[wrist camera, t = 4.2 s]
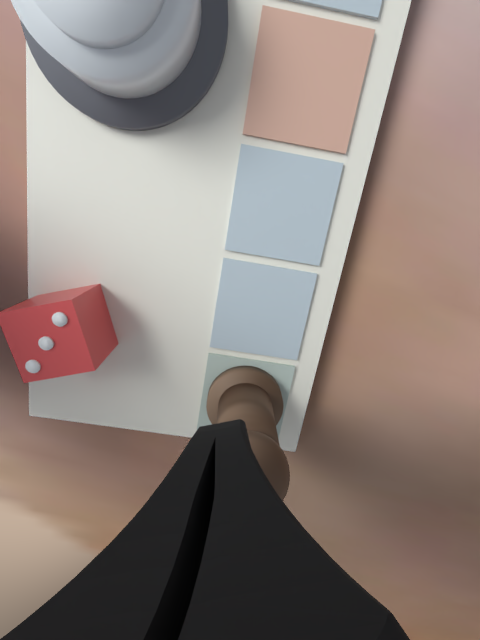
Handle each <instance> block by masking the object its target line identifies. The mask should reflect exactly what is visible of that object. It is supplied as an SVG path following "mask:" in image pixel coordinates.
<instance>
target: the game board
mask: <svg viewBox="0 0 480 640" xmlns="http://www.w3.org/2000/svg"><path fill="white" fill-rule="evenodd" d="M410 4H411V0H201V10H202V13H201V26H200V32H199V37H198V41H197V44H196V47H195V50H194V52H193V54H192V57H191V59H190V61H189V62H188V64H187V66H186V67H185V69H184V70H183V71H182V73H181V74H180V75H179V76H178V77H177V78H176V79H175V80H174V81H173V82H172V83H171V84H169V85H168V86H167V87H165V88H164V89H162V90H160V91H158V92H157V93H155V94H152V95H149V96H146V97H140V98H128V99H126V98H117V97H113V96H109V95H106V94H104V93H101V92H99V91H97V90H95V89H93V88H91V87H90V86H88V85H87V84H85V83H84V82H83V81H81V80H80V79H79V78H78V77H76V76H75V75H74V74H73V73H72V72H70V71H69V70H68V69H67V68H66V67H64V66H63V65H62V64H61V63H60V62H58V61H57V60H56V59H55V58H54V57H52V56H51V55H50V54H49V53H48V52H47V51H46V50H45V49H43V48H42V47H41V46H40V45H39V44H38V43H37V41H36V40H35V39H34V38H33V37H32V35H31V34H30V33H29V32H28V30H27V29H26V27H25V26H24V24H23V23H22V21H21V20H20V21H21V25H22V28H23V32H24V35H25V39H26V100H27V222H28V299H30V298H32V297H34V296H37V295H41V294H46V293H52V292H57V291H63V290H68V289H73V288H79V287H84V286H90V285H95V284H101V288H102V291H103V294H104V297H105V301H106V304H107V307H108V310H109V314H110V317H111V320H112V324H113V327H114V330H115V333H116V337H117V340H118V343H119V344H118V345H117V346H116V347H115V348H114V350H113V351H112V352H111V353H110V354H109V355H108V357H107V358H106V359H105V360H104V361H103V362H102V363H101V365H100V366H99V367H98V368H97V369H96V370H95V371H91V372H85V373H79V374H73V375H68V376H62V377H56V378H51V379H45V380H39V381H33V382H29V416H36V417H43V418H51V419H58V420H65V421H73V422H80V423H87V424H95V425H102V426H110V427H117V428H124V429H132V430H139V431H146V432H154V433H161V434H168V435H176V436H183V437H190V438H192V437H193V435H194V434H195V432H196V431H197V429H198V428H199V427H201V426H206V425H211V424H212V423H211V422H210V420H209V418H208V415H207V408H206V405H207V397H208V391H209V388H210V386H211V384H212V382H213V381H214V380H215V378H216V377H217V376H218V375H219V374H221V373H222V372H224V371H225V370H227V369H230V368H232V367H236V366H254V367H258V368H260V369H263V370H265V371H266V372H268V373H269V374H270V375H271V376H273V378H274V379H275V380H276V382H277V383H278V385H279V387H280V390H281V394H282V398H283V413H282V417H281V419H280V421H279V422H278V424H277V425H276V429H277V434H278V439H279V444H280V447H281V449H282V450H286V451H293V452H295V451H296V447H297V443H298V440H299V436H300V432H301V428H302V424H303V420H304V416H305V412H306V409H307V405H308V401H309V397H310V393H311V389H312V385H313V381H314V377H315V374H316V370H317V366H318V362H319V358H320V354H321V350H322V346H323V342H324V339H325V335H326V331H327V327H328V323H329V319H330V315H331V311H332V307H333V304H334V300H335V296H336V292H337V288H338V284H339V280H340V276H341V272H342V269H343V265H344V261H345V257H346V253H347V249H348V245H349V241H350V237H351V234H352V230H353V226H354V222H355V218H356V214H357V210H358V206H359V202H360V199H361V195H362V191H363V187H364V183H365V179H366V175H367V171H368V167H369V164H370V160H371V156H372V152H373V148H374V144H375V140H376V136H377V132H378V129H379V125H380V121H381V117H382V113H383V109H384V105H385V101H386V97H387V94H388V90H389V86H390V82H391V78H392V74H393V70H394V66H395V62H396V59H397V55H398V51H399V47H400V43H401V39H402V35H403V31H404V27H405V24H406V20H407V16H408V12H409V8H410Z"/></svg>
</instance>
